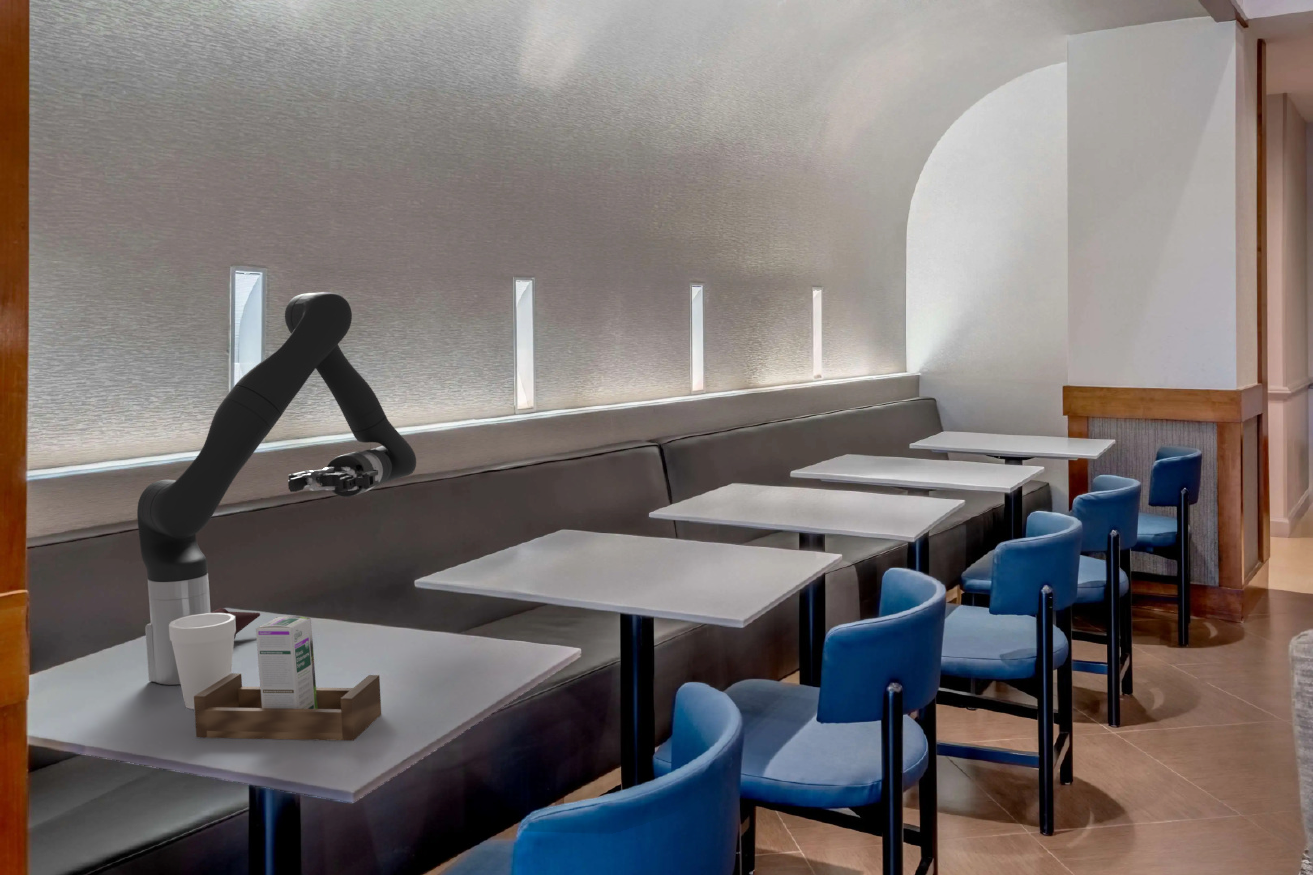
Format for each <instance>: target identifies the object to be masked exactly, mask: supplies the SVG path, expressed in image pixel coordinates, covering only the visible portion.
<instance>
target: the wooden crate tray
mask: <svg viewBox="0 0 1313 875" xmlns="http://www.w3.org/2000/svg"><path fill="white" fill-rule="evenodd" d="M242 679H243V678H242V673H240V672H239V673H238V672H237V673H234V672H233V673H232V672H231V674H229V675H228V676H226V677H225V678H223V679H221V680H220V681H218V682H216V683H215V684H213V685H211V686H210V687H208V688H206V689H205V690H203V691H202V692H200V693H198V694H197V695H195V696H194V708H195V709H194V719H195V735H196V736H195V738H196V737H202V738H206V737H207V738H206V739H211V738H212V739H248V740H250V739H253V740H255V739H257V740H258V739H260V740H298V741H299V740H301V741H302V740H304V741H305V740H307V741H309V740H311V741H350V742H351V741H355V740H356V739H357V738H358V737H359V736H360V735H361V734H362V733H364V732H365V731H366V730H367V729H368V728H369V726H371V725H372V724H373V723H374V722H375V721H376V720H377V719H378V718H379V717H380V716H381V715H382V703H381V699H382V698H381V683H380V682H381V680H380V679H381V678H380V674H369V675H367V676H366V677H365V678H364V679H362V680H361V681H360V682H359V683H357V684H356V685H355V686H354V687H319V686H318V687H317V686H316V694H317V707H318V709H284V708H262V702H261V689H260V686H243V680H242ZM208 737H209V738H208Z"/></svg>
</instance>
